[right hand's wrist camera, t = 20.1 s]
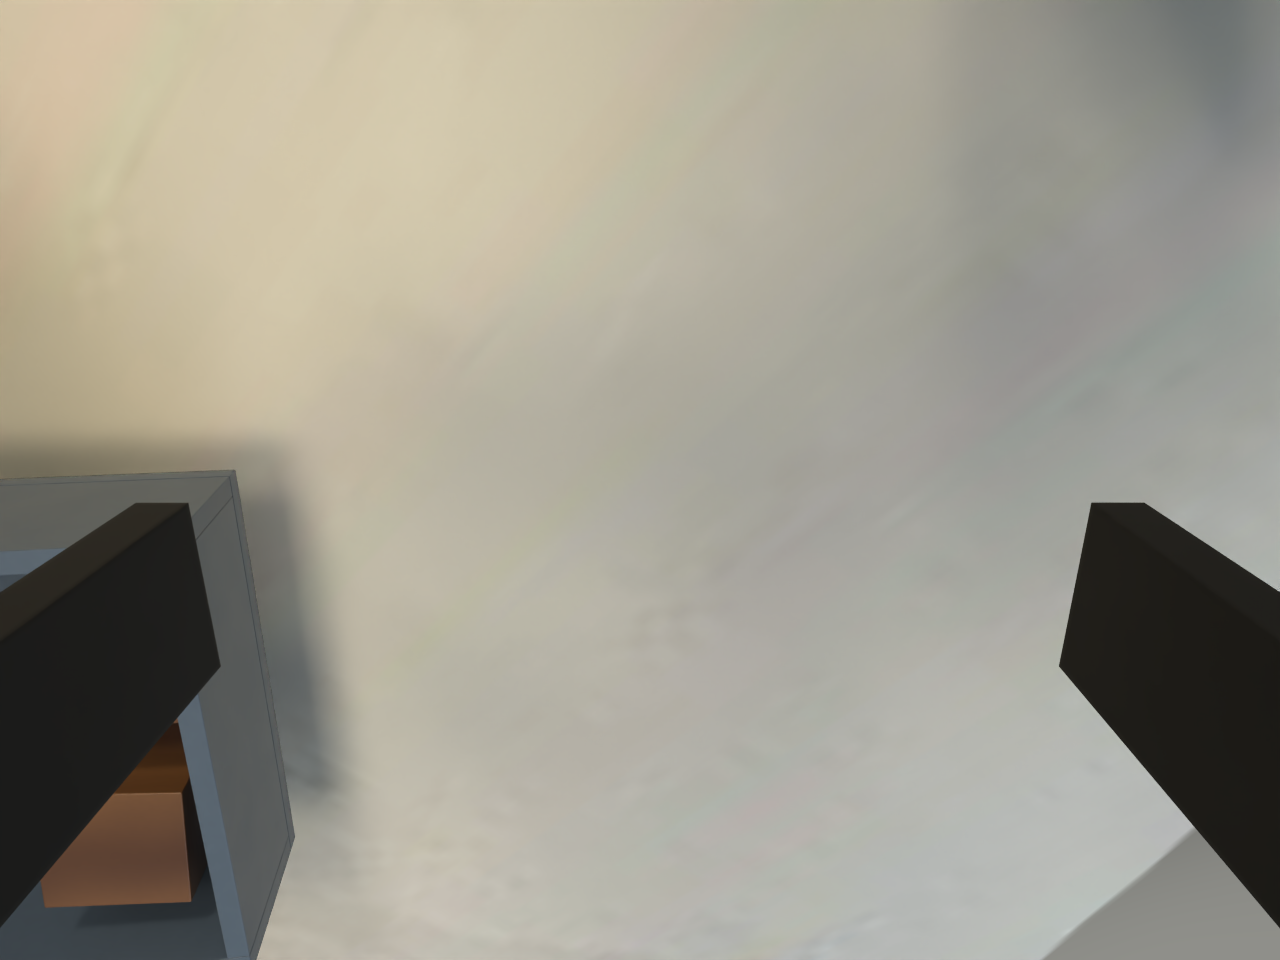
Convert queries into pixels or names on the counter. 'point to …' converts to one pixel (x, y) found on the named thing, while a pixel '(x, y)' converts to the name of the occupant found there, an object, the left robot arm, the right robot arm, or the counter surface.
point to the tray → (210, 730)
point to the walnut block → (136, 840)
